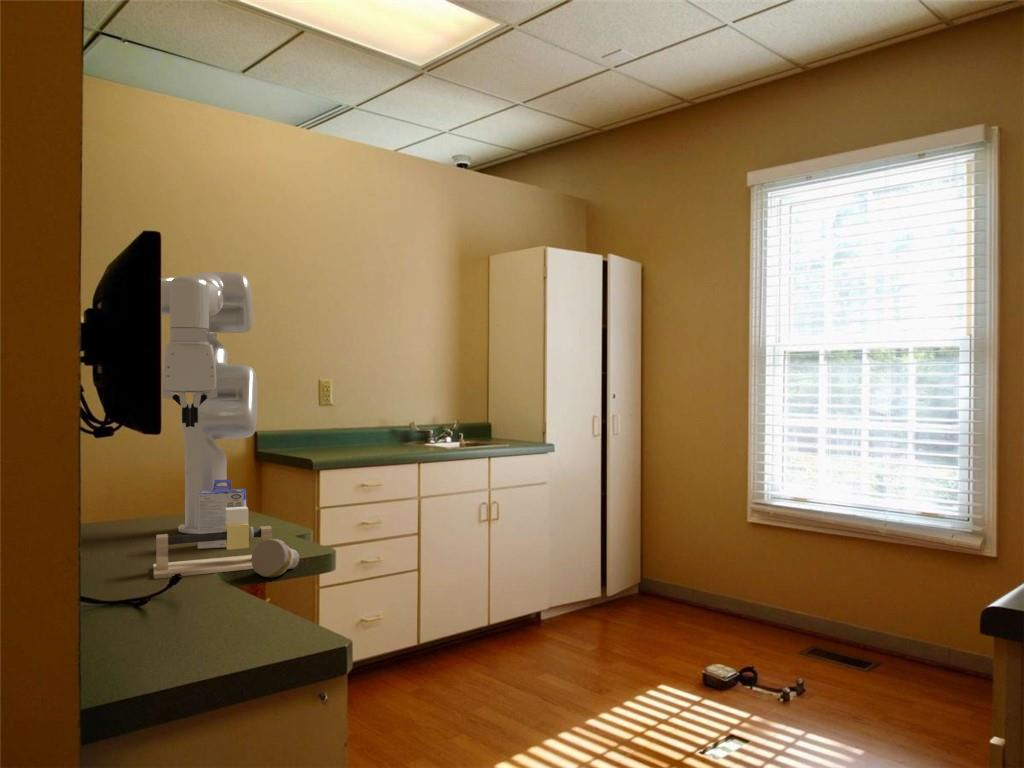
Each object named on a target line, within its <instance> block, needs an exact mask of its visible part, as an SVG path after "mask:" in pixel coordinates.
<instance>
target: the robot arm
mask: <svg viewBox="0 0 1024 768" xmlns="http://www.w3.org/2000/svg"><path fill="white" fill-rule="evenodd" d="M160 279H161V315H160V316H165V317H167V316H169V343H166V344H165V346H164V352H163V358H162V359H163V361H162V363H163V364H162V392H161V395H160V396H161V398H163V399H167V400H171V401H175V402H176V404H178V405H179V406H180V407H181V411H180V424H181V430H182V437H183V444H184V445H183V447H184V519H185V520H184V522H185V523H181V524H179V525H178V527H177V529H178V532H179V533H182V534H187V535H191V534H198V508H197V507H198V504H197V495H198V494H199V493H200V492H201V491H213V488H214V480H228V479H227V477H228V473H227V472H228V471H227V470H228V469H227V467H228V466H227V465H228V464H227V463H228V462H227V461H228V460H227V455H226V453H225V451H224V450H223V449H222V447H221V446H220V444H218V443H217V442H216V440H223V439H224V440H225V439H227V440H228V439H229V440H230V439H231V440H233V439H248V438H250V437H253V436H254V434H255V432H256V431H257V426H258V392H259V391H258V389H259V388H258V377H257V373H256V371H255V369H254V368H253V367H252V366H249V365H246V364H228V361H229V360H228V359H229V353H228V350H227V349H226V347H225V346H224V345H223V344H222V343H221V342H220V340H218V339H217V337H218V336H217V334H219V333H221V334H226V333H227V334H244V333H249V332H250V331H251V330H252V328H253V326H254V323H255V314H254V304H253V303H254V302H253V293H252V287H251V283H250V281H249V279H248V277H246V275H245V274H243V273H241V272H221V271H220V272H218V271H202V272H201V271H200V272H198V273H196V274H193V275H191V274H190V275H183V276H174V277H173V276H172V277H163V278H162V277H161V278H160ZM176 393H178V394H176ZM186 393H191V395H192V397H193V399H192V400H193V401H190V402H188V401H187V396H186V395H187V394H186ZM187 402H188V403H187ZM217 486H228V483H224V482H222V483H218V484H217Z"/></svg>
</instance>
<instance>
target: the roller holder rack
mask: <svg viewBox="0 0 1024 768" xmlns="http://www.w3.org/2000/svg"><path fill="white" fill-rule="evenodd" d="M155 536H156V537H155V539H156V541H155V542H156V543H155V546H156V547H155V548H156V551H155V552H156V563H153V564H152V565H153V580H157V579H167V578H173V577H172V576H174V575H175V574H178V573H180V574H181V575H182V576H181V577H185V576H187V577H188V576H196V575H197V576H198V575H208V574H215V573H216V574H217V573H223V572H224V573H225V572H227V573H228V572H234V571H244V570H254V569H253V566H252V561H251V558H252V554H245V555H244V554H243V555H237V556H236V555H235V556H224V557H213V558H212V557H211V558H204V559H191V560H183V561H182V560H181V561H172V562H171V561H169V546H170V545H182V544H194V543H196V544H197V543H198V542H208V541H219V540H227V532H216V533H204V534H182V535H181V534H179V535H169V534H168V533H163V534H156V535H155ZM255 538H259V543H261V542H262V541H264V540H267V539H273V527H272V526H271V525H265V526H263V525H262V526H259V528H257V529H256V528H254V526H249V542H251V541H252V542H253V541H254V539H255Z"/></svg>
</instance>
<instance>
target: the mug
mask: <svg viewBox="0 0 1024 768" xmlns="http://www.w3.org/2000/svg"><path fill="white" fill-rule="evenodd" d="M251 555H252V558H251V561H252V566H253V569H252V570H253V571H254V572H255V573H257V574H258V575H260V576H261V577H264V578H276V577H279V576H281V575H283V574H284V573H286V572H287V570H293V569H295V568H296V567H297V566H298V564H299V562H300V555H299V552H298V551H297V550H295V549H293V548H290V546H289V545H288V544H287V543H286V542H285V541H283V540H280V539H278V538H272V539H267V540H264V541H262V542H261V543H260V542H259V543H258V544H257V545H256V546H255V548H254V549H253V551H252V553H251Z"/></svg>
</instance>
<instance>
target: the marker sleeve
mask: <svg viewBox="0 0 1024 768" xmlns="http://www.w3.org/2000/svg"><path fill="white" fill-rule="evenodd" d="M225 520H226V522H225V532H227V540H225V546H226V547H225V548H226V550H228V551H229V550H230V551H231V550H239V549H240V550H241V549H249V548H250V541H249V527H250V525H249V508H248V506H247V505H246V506H244V507H229V508H225Z"/></svg>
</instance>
